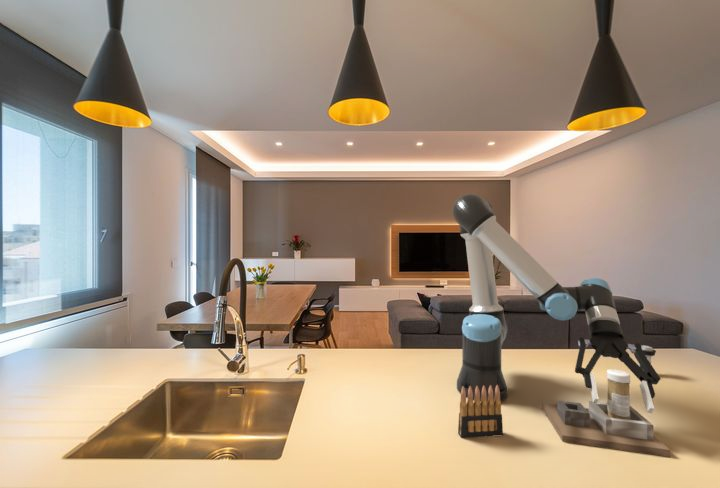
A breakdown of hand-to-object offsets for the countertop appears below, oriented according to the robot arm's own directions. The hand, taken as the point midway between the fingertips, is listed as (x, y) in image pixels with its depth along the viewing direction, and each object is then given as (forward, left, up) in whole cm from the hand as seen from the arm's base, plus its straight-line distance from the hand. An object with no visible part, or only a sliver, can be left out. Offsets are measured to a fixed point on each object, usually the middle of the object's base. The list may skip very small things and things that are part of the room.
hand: (622, 405), depth 76 cm
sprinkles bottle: (+1, +3, -7) cm, 7 cm away
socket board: (-4, +3, -8) cm, 9 cm away
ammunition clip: (-33, -7, -8) cm, 35 cm away
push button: (+30, +48, -8) cm, 57 cm away
